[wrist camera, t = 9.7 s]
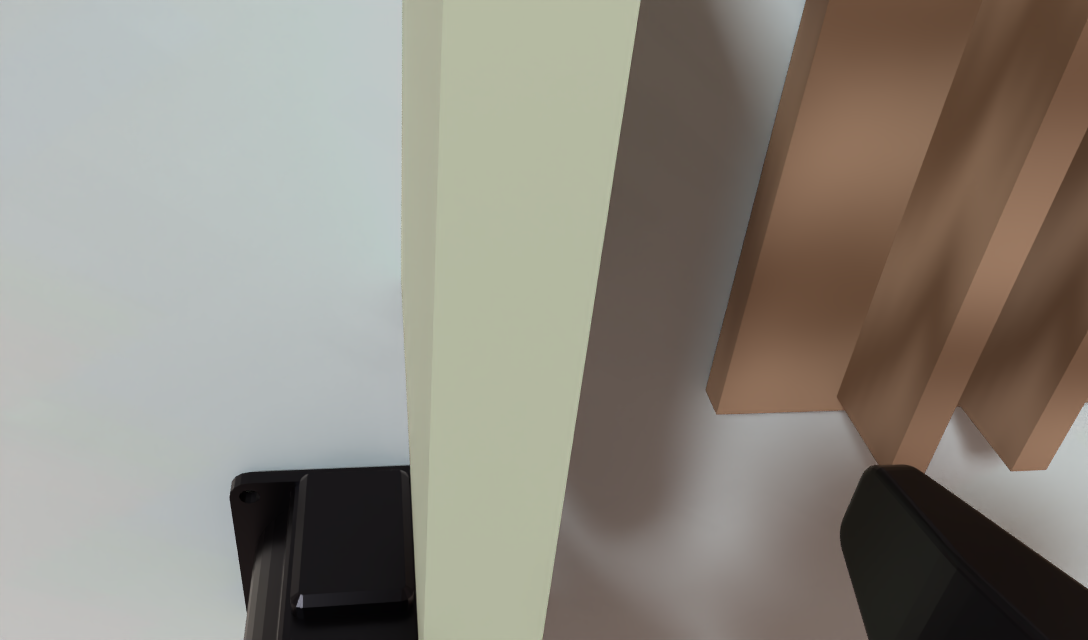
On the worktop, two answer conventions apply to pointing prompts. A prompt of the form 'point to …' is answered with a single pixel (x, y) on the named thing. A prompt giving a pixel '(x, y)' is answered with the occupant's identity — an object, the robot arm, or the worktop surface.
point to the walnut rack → (921, 229)
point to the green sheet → (500, 286)
